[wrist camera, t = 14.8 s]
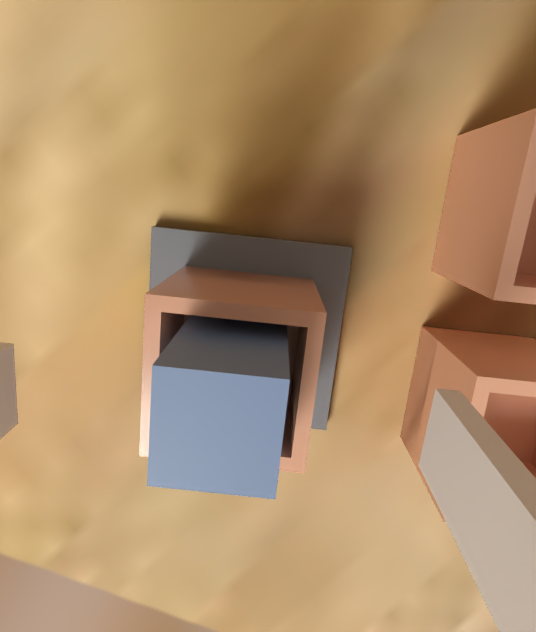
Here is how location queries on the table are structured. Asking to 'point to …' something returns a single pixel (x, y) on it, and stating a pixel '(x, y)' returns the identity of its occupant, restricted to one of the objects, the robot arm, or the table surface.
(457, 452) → the robot arm
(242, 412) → the blue rectangular block
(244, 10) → the table surface
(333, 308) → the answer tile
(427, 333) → the pot
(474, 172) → the pot
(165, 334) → the pot
